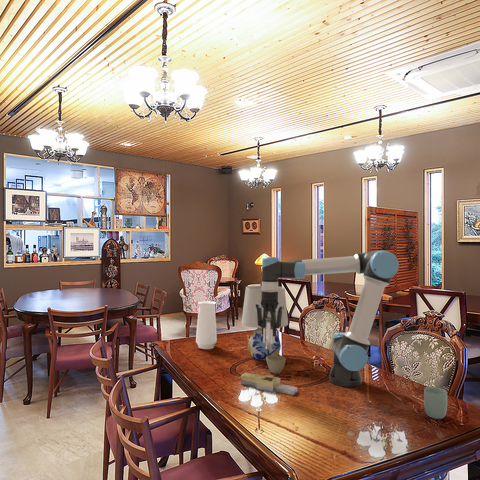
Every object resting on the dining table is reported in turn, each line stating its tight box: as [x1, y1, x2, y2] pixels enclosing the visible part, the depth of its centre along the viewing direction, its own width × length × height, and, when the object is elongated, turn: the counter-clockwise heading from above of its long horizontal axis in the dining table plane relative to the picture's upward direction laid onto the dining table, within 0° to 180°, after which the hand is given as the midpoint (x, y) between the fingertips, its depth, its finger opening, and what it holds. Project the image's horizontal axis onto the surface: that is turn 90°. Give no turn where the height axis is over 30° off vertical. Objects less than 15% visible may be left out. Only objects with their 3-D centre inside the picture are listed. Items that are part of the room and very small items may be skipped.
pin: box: [265, 317, 272, 349], centre depth 173 cm, size 4×4×14 cm
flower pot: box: [265, 355, 287, 375], centre depth 195 cm, size 10×10×7 cm
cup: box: [423, 386, 448, 420], centre depth 145 cm, size 8×8×10 cm
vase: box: [195, 300, 218, 350], centre depth 241 cm, size 13×13×28 cm
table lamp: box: [241, 285, 289, 361], centre depth 222 cm, size 27×27×40 cm
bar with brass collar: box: [240, 372, 298, 396], centre depth 172 cm, size 26×8×4 cm, turn 61°
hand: (268, 342), depth 173 cm, fingers closed on pin, 3 cm apart
